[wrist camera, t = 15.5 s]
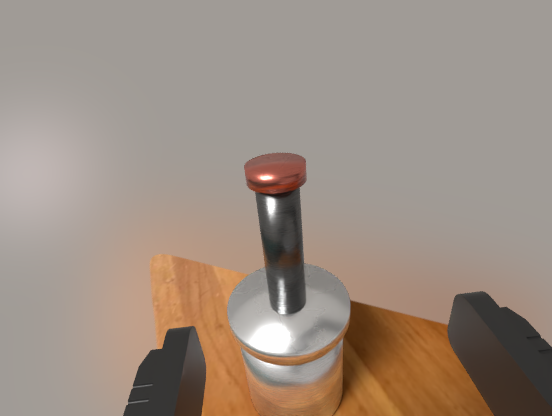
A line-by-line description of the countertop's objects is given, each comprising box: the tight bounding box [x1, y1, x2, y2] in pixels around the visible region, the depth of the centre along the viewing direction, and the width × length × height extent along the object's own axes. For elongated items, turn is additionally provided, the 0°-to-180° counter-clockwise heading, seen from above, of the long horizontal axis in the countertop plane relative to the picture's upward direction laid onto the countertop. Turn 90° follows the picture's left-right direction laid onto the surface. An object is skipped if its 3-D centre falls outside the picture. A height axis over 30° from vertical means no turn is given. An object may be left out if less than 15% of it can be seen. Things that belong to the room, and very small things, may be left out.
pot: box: [241, 338, 343, 416], centre depth 30 cm, size 9×9×10 cm
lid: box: [227, 153, 350, 364], centre depth 25 cm, size 10×10×13 cm
